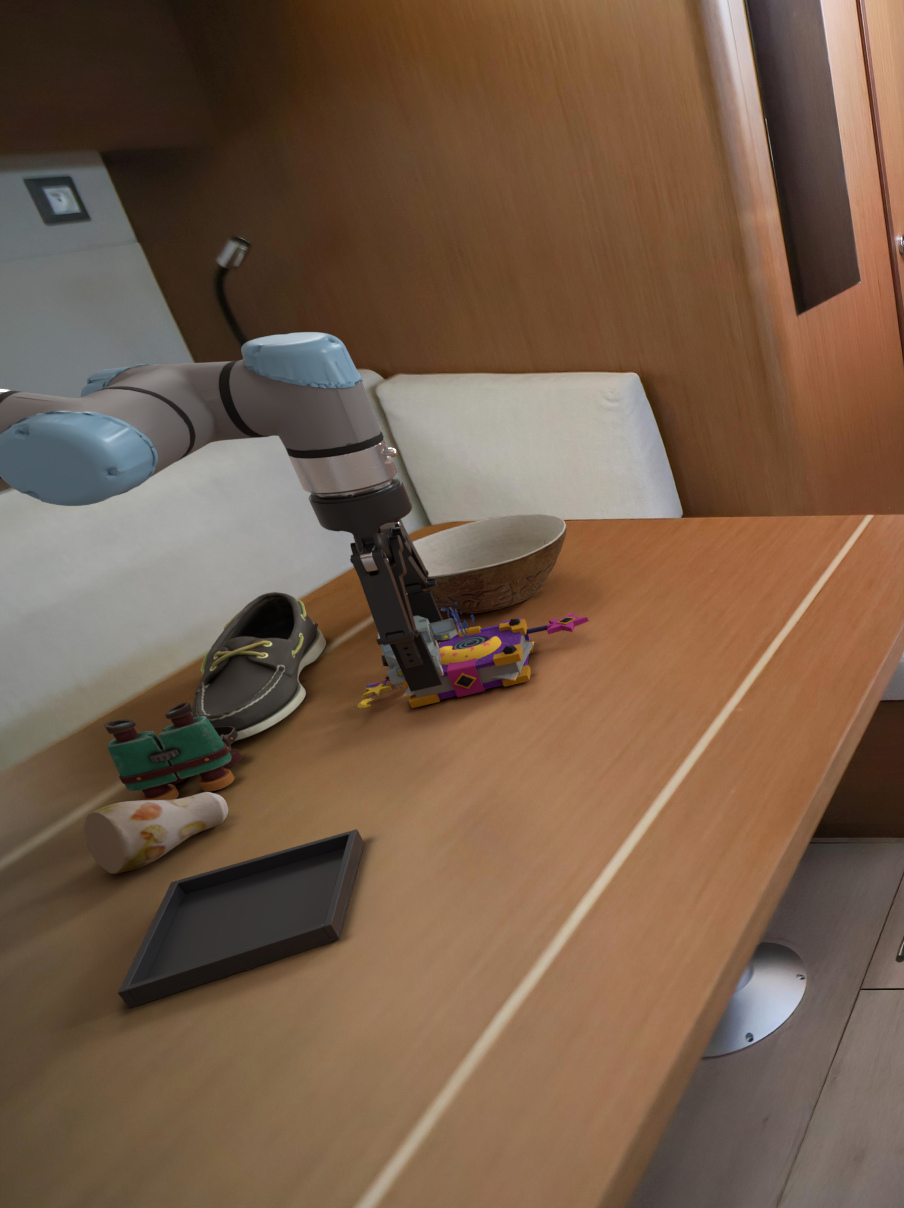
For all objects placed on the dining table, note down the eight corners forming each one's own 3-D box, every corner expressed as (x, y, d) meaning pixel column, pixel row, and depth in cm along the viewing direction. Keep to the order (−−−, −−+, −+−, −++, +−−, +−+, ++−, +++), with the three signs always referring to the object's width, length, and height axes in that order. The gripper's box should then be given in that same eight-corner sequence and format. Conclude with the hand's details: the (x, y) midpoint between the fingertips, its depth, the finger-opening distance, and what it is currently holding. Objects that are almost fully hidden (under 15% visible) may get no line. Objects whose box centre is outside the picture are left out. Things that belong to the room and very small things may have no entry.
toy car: (396, 694, 104) (379, 656, 102) (393, 656, 111) (377, 620, 109) (469, 674, 108) (454, 637, 106) (461, 638, 115) (447, 603, 112)
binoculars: (214, 675, 113) (199, 707, 105) (253, 751, 117) (242, 786, 109) (103, 702, 107) (80, 737, 100) (149, 780, 111) (129, 820, 104)
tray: (129, 1008, 84) (117, 993, 83) (181, 896, 95) (171, 881, 94) (339, 939, 91) (331, 924, 90) (364, 842, 102) (357, 828, 101)
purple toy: (380, 671, 131) (343, 593, 126) (593, 625, 143) (568, 552, 137) (358, 726, 120) (316, 644, 114) (591, 672, 131) (563, 595, 126)
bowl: (393, 593, 150) (367, 536, 146) (568, 550, 165) (550, 497, 160) (406, 654, 135) (377, 592, 130) (598, 600, 149) (579, 543, 145)
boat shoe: (189, 763, 113) (152, 703, 109) (221, 659, 133) (190, 605, 129) (316, 728, 120) (285, 670, 116) (328, 634, 139) (302, 582, 136)
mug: (261, 818, 105) (179, 787, 97) (171, 898, 100) (77, 873, 92) (218, 787, 107) (134, 754, 99) (128, 864, 102) (31, 837, 94)
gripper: (386, 515, 93) (465, 702, 103) (411, 446, 110) (477, 612, 120) (283, 531, 89) (375, 724, 99) (326, 457, 106) (401, 628, 116)
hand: (431, 663), depth 109 cm, fingers closed on toy car, 10 cm apart
